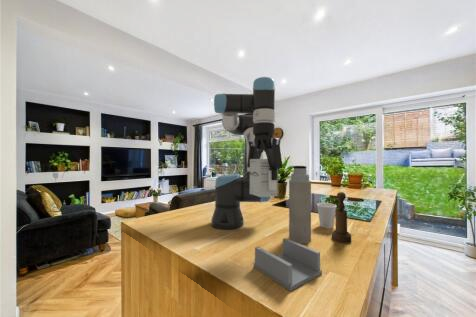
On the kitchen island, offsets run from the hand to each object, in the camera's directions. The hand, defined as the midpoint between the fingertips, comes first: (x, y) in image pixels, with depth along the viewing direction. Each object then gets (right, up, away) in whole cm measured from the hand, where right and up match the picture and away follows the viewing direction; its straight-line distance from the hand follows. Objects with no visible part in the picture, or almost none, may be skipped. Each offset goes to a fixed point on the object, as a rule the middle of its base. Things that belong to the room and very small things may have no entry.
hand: (263, 188), depth 70 cm
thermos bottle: (+15, -21, +6) cm, 26 cm away
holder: (+4, -20, -16) cm, 26 cm away
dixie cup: (+32, -21, +22) cm, 44 cm away
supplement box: (0, -3, 0) cm, 3 cm away
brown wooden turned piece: (+31, -21, +6) cm, 37 cm away
